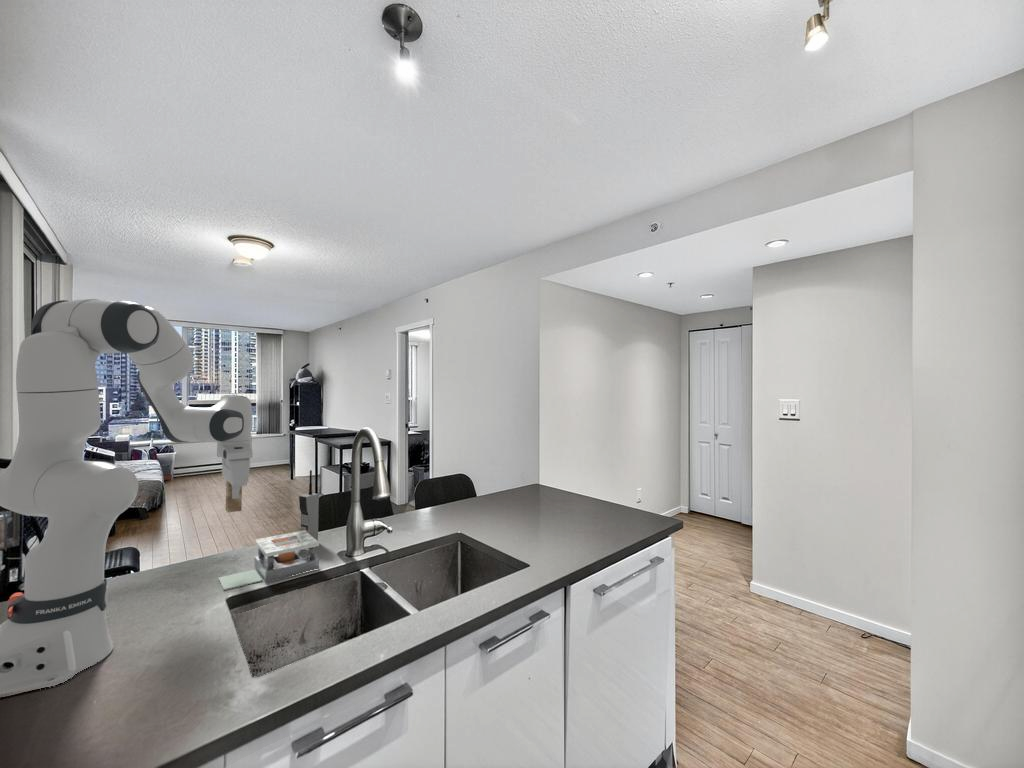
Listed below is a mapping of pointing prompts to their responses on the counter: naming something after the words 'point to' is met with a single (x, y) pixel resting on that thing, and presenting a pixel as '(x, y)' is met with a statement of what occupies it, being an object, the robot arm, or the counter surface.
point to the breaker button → (286, 556)
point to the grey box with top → (269, 552)
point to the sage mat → (239, 579)
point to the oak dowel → (231, 503)
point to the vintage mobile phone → (309, 511)
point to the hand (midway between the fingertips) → (233, 496)
